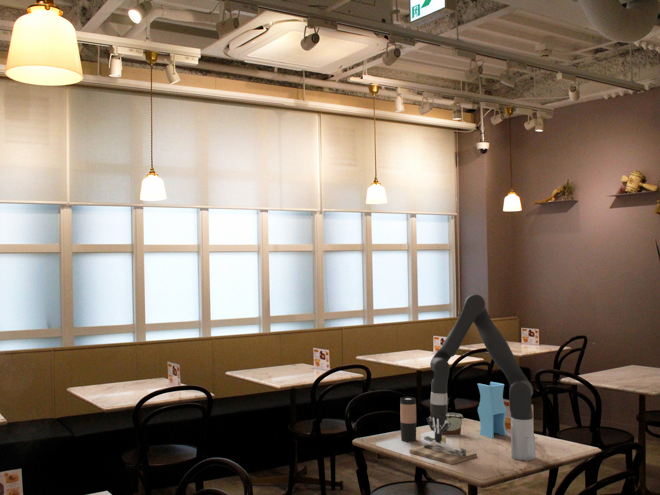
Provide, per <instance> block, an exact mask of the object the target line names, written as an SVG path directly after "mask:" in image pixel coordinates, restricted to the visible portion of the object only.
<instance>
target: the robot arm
mask: <svg viewBox="0 0 660 495" xmlns="http://www.w3.org/2000/svg"><path fill="white" fill-rule="evenodd" d="M473 324H474V325H475V327H476V329H477V331H478V333H479V336H480V338H481V340H482V342H483V344H484V346H485V348H486V350H487V352H488V353H489V354H488V355H489V356H490V358H491V359H492V360H493V362H494V363H495V364H496V365H497V366H498V368H499V369H500V370H501V371H502V372H503V374H504V375H505V377H506V379H507V381H508V383H509V391H508V397H509V398H508V400H509V411H510V412H509V413H510V445H511V446H510V448H511V451H510V452H511V454H510V455H511V458H512V459H515V460H518V461H526V462H530V461H532V460H535V459H536V458H537V457H536V436H535V435H534V416H533V410H532V409H533V408H532V396H533V394H534V388H533V386H532V383H531V382H530V381H529V379H528V377H526V375H525V373H523V371H522V369H521V367H520V365H519V364H518V362H517V359H516V357H515V355H514V353H513V352H512V349H511V347H510V346H509V343H508V342H507V340H506V339H505V337H504V335H503V334H502V332H501V331H500V329H499V328H498V327H497V325H495V323H494V322H493V320H492V319H491V317H490V315H489V312H488V311H487V308H486V301H485V299H484V297H482V295H481V294H480V295H479V294H477V293H475V294H473V293H472V294H470V295H469V296H467V297H466V298H465V300H464V302H463V307H462V311H461V313H460V315H459V317H458V318H457V320H456V322H455V324H454V326H453V327H452V329H451V330H450V331H449V333H448V334H447V336H446V338H445V339H444V341H443V342H442V345H441V347H440V348H439V349H438V350H437V351H436V353H434V355H433V357H432V358H431V359H430V360H431V361H430V364H429V365H430V369H431V370H432V371H433V379H432V380H431V382H430V384H431V386H430V387H431V390H430V401H429V402H430V404H429V405H430V406H429V411H430V416H429V417H427V418H426V422H427V424H428V426H429V428H430V430H431V431H433V433H434V438H435V441H436V442H441V440H442V436H443V435H442V433H445V432H446V431H447V430H448V428H449V427H450V425H451V423H450V422H448V421H447V417H446V414H447V413H448V380H449V375H450V363H449V360H450V359H451V358H452V357H454V356H455V355H456V354H457V352H458V350H459V349H460V347H461V345H462V343H463V342H464V341H465V340H464V339H465V337H466V336H467V333H468V332H469V330H470V328H471V326H472V325H473ZM444 423H445V424H444Z"/></svg>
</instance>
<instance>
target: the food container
mask: <svg viewBox="0 0 660 495" xmlns="http://www.w3.org/2000/svg"><path fill="white" fill-rule="evenodd" d="M446 417H447V421H448V422H450V423H451V425H450V427H449V428H448V430H447V431H446V432H445V433H442V436H450V437H451V436H455V437H456V436H459V437H460V436H461V435H462V424H463V422H462V421H463V420H464V416H463V414H461V413H457V412H447V414H446ZM444 424H445V423H444Z"/></svg>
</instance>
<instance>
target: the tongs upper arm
mask: <svg viewBox="0 0 660 495" xmlns="http://www.w3.org/2000/svg"><path fill="white" fill-rule="evenodd" d="M433 438H434V437H430V436H423V439H424V440H425V441H427V442H429V443H431V444H432V443H434V444H437V445H439V446H441V447H444V448H446V449H449V450H451V451H453V452H455V450H460V449H461V448H458V447H455V446H453V445H450V444H448V443H447V442H446V443H443V442H436V441H435V439H433ZM460 451H461V453H463V450H460Z"/></svg>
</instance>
